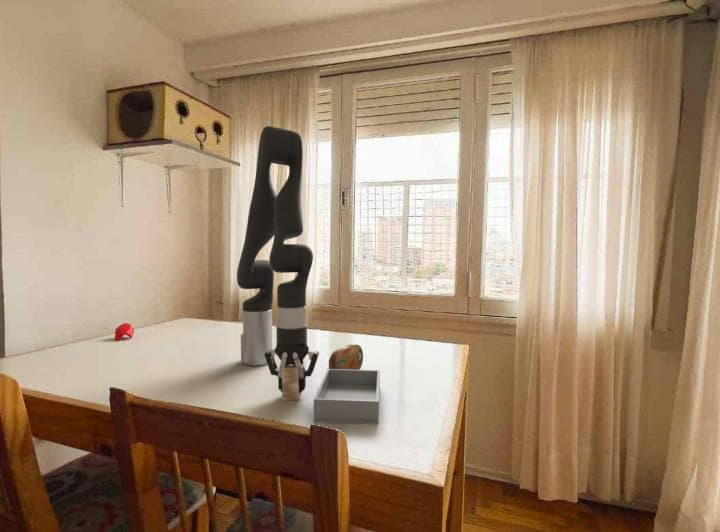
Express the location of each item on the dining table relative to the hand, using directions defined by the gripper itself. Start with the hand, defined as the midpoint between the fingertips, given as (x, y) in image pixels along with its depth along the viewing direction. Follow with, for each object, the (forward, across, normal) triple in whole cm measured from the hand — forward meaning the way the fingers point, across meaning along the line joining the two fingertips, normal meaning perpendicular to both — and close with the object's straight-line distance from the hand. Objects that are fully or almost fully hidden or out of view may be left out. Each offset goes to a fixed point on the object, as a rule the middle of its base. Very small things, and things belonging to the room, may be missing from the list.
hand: (292, 391), depth 95 cm
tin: (+2, +12, +17) cm, 21 cm away
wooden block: (+2, 0, 0) cm, 2 cm away
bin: (+1, +15, -3) cm, 15 cm away
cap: (+2, -82, +52) cm, 97 cm away
